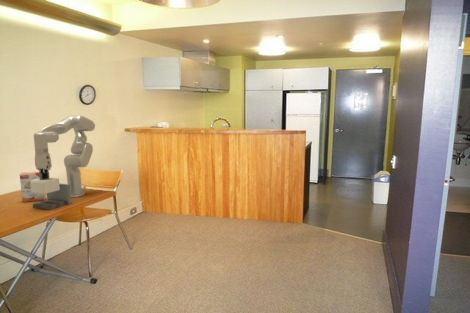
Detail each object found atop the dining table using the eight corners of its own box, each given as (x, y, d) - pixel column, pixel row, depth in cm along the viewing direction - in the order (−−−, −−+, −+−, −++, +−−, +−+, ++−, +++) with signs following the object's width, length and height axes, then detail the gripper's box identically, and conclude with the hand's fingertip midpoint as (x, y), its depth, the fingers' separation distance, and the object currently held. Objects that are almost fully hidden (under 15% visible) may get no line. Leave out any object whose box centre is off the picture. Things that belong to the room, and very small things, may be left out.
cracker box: (22, 202, 231) (19, 173, 228) (24, 200, 236) (21, 172, 233) (44, 200, 235) (41, 172, 232) (46, 198, 241) (43, 170, 237)
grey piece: (50, 201, 233) (48, 182, 231) (71, 203, 226) (69, 184, 224) (30, 207, 219) (28, 187, 217) (52, 210, 212) (50, 189, 210)
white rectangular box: (45, 188, 225) (44, 170, 224) (59, 189, 221) (58, 171, 219) (30, 192, 214) (28, 173, 213) (44, 193, 210) (43, 174, 208)
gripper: (55, 151, 215) (57, 178, 217) (38, 150, 220) (40, 176, 223) (45, 152, 208) (47, 180, 210) (27, 151, 213) (30, 178, 216)
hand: (44, 178), depth 216 cm, fingers closed on white rectangular box, 1 cm apart
